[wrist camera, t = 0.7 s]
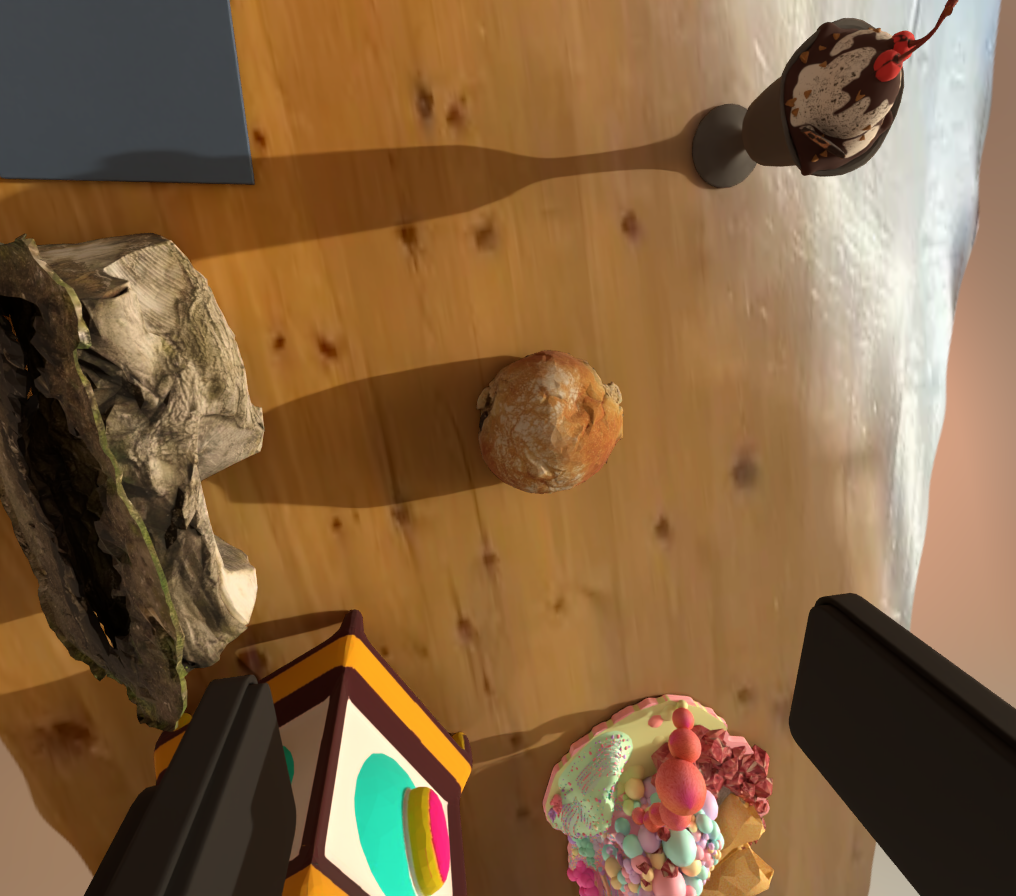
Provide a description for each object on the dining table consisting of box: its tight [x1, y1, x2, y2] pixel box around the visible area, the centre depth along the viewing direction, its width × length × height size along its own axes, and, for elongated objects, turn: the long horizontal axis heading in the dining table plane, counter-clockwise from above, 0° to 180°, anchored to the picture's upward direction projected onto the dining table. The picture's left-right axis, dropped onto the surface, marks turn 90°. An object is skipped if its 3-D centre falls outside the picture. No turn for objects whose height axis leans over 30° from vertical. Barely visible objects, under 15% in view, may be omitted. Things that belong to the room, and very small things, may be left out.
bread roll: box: [477, 350, 624, 494], centre depth 36 cm, size 10×10×8 cm
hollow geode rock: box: [0, 233, 265, 732], centre depth 30 cm, size 28×13×15 cm
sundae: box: [693, 0, 958, 188], centre depth 28 cm, size 7×7×15 cm
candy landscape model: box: [543, 695, 774, 896], centre depth 49 cm, size 25×24×9 cm
